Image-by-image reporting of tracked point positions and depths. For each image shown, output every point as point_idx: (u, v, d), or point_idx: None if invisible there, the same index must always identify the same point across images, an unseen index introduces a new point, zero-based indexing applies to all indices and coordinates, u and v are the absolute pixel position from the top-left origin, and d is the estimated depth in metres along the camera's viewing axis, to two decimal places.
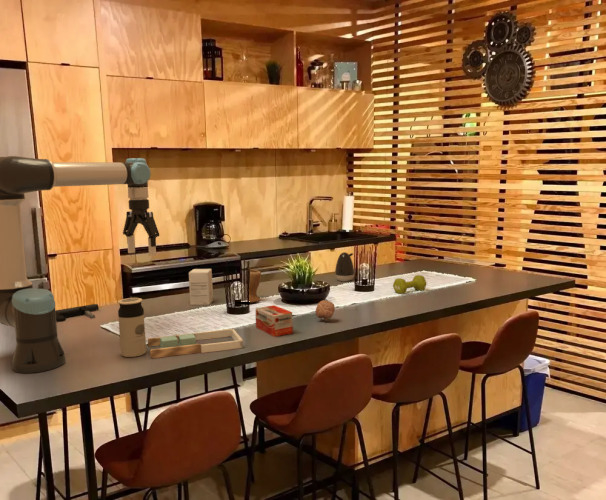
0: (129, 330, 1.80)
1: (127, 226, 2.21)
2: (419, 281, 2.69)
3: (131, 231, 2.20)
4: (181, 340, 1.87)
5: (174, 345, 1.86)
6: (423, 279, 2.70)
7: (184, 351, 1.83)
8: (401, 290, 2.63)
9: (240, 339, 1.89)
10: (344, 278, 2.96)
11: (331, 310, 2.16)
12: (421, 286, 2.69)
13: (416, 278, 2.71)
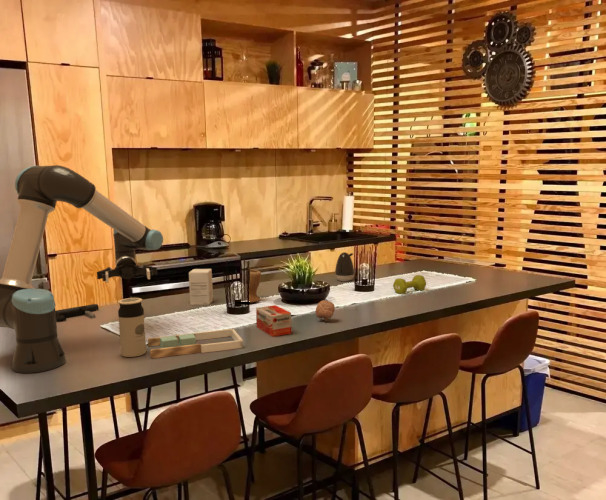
0: (129, 330, 1.80)
1: None
2: (419, 281, 2.70)
3: (110, 273, 1.97)
4: (181, 340, 1.87)
5: (174, 345, 1.86)
6: (423, 278, 2.70)
7: (184, 351, 1.83)
8: (401, 290, 2.63)
9: (240, 339, 1.89)
10: (344, 278, 2.96)
11: (331, 310, 2.16)
12: (421, 286, 2.70)
13: (416, 278, 2.71)
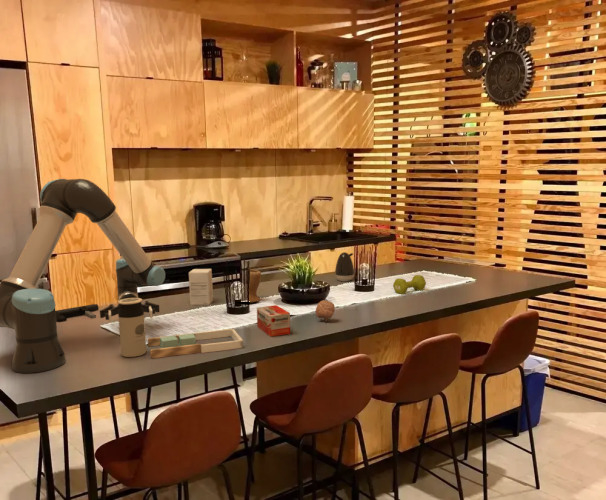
0: (129, 330, 1.80)
1: (107, 310, 2.00)
2: (419, 281, 2.70)
3: (112, 312, 1.99)
4: (181, 340, 1.87)
5: (174, 345, 1.87)
6: (422, 278, 2.70)
7: (184, 351, 1.83)
8: (402, 290, 2.63)
9: (240, 339, 1.89)
10: (344, 278, 2.96)
11: (331, 310, 2.16)
12: (421, 286, 2.70)
13: (416, 277, 2.71)
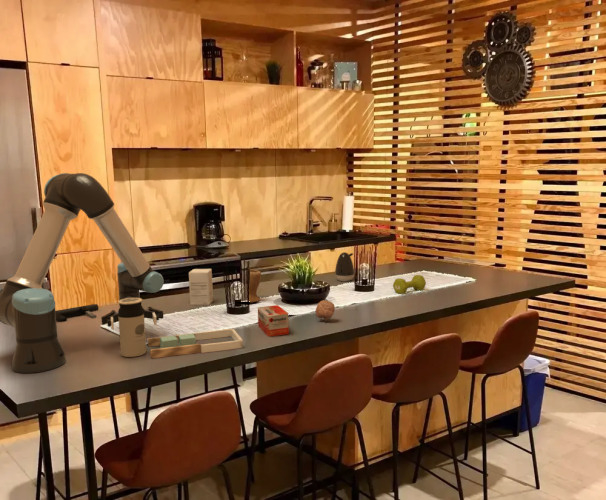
0: (129, 330, 1.80)
1: (109, 316, 1.92)
2: (419, 281, 2.70)
3: (115, 318, 1.91)
4: (181, 340, 1.87)
5: (174, 345, 1.87)
6: (422, 278, 2.70)
7: (184, 351, 1.83)
8: (401, 290, 2.63)
9: (240, 339, 1.89)
10: (344, 278, 2.96)
11: (331, 310, 2.16)
12: (421, 286, 2.70)
13: (416, 277, 2.71)
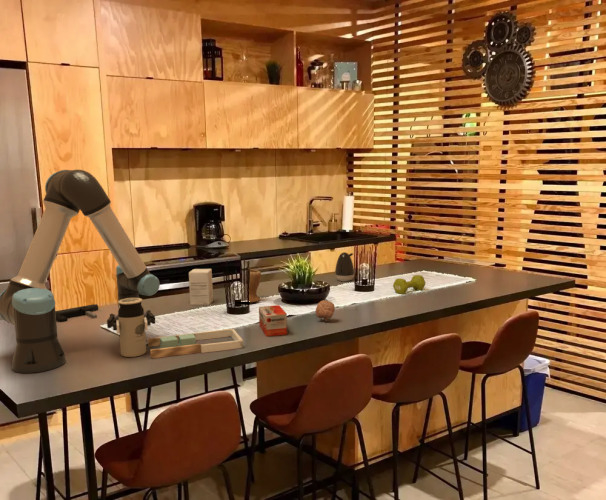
0: (129, 330, 1.80)
1: (112, 319, 1.87)
2: (418, 281, 2.70)
3: None
4: (181, 340, 1.87)
5: (174, 345, 1.87)
6: (422, 278, 2.71)
7: (184, 351, 1.83)
8: (402, 290, 2.63)
9: (240, 339, 1.89)
10: (344, 278, 2.96)
11: (331, 310, 2.16)
12: (420, 286, 2.70)
13: (415, 277, 2.71)
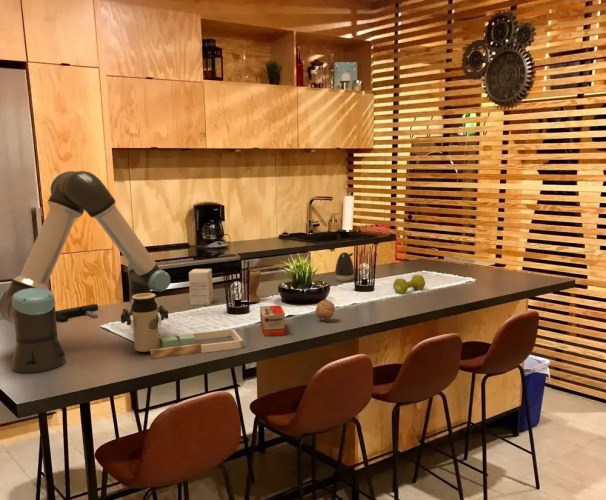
0: (143, 325, 1.81)
1: (125, 314, 1.89)
2: (418, 281, 2.70)
3: None
4: (181, 340, 1.87)
5: (174, 345, 1.87)
6: (422, 278, 2.71)
7: (184, 351, 1.83)
8: (402, 290, 2.63)
9: (240, 339, 1.89)
10: (344, 278, 2.96)
11: (331, 310, 2.16)
12: (420, 286, 2.70)
13: (415, 277, 2.71)
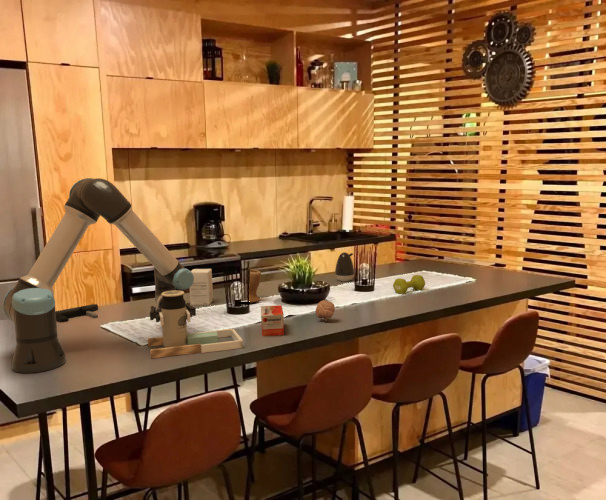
0: (172, 322, 1.84)
1: (154, 311, 1.92)
2: (418, 281, 2.70)
3: None
4: (203, 338, 1.89)
5: (199, 342, 1.88)
6: (422, 278, 2.71)
7: (184, 351, 1.83)
8: (402, 290, 2.63)
9: (240, 339, 1.89)
10: (344, 278, 2.96)
11: (331, 310, 2.16)
12: (420, 286, 2.70)
13: (415, 277, 2.71)
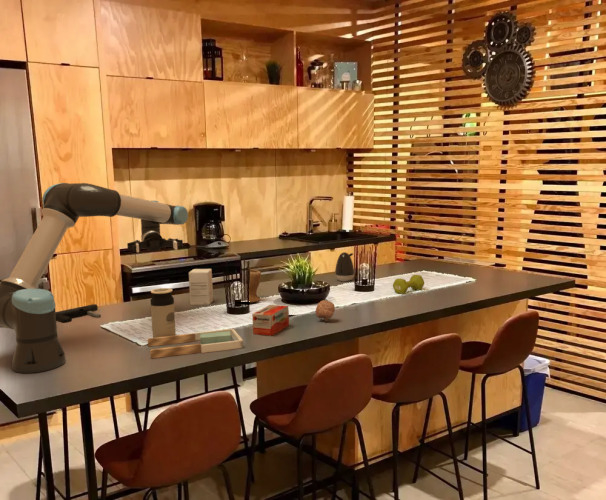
0: (161, 318, 1.95)
1: None
2: (417, 281, 2.71)
3: (139, 245, 2.11)
4: (216, 337, 1.89)
5: (212, 342, 1.89)
6: (421, 278, 2.71)
7: (184, 351, 1.83)
8: (402, 290, 2.63)
9: (240, 339, 1.89)
10: (344, 278, 2.96)
11: (331, 310, 2.16)
12: (419, 285, 2.71)
13: (414, 277, 2.72)
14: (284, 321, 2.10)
